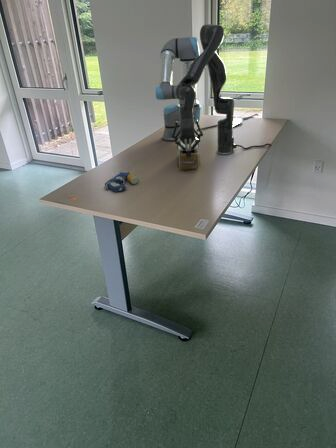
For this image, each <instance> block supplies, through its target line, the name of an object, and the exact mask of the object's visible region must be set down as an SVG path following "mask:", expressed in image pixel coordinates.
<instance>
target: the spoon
mask: <svg viewBox="0 0 336 448" xmlns="http://www.w3.org/2000/svg"><path fill="white" fill-rule="evenodd" d="M242 119H243V118H240V117H233V128H234V127H236V126H238V125H240V124H241V123H242V122H243V120H242Z"/></svg>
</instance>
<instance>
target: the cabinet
mask: <svg viewBox="0 0 336 448" xmlns="http://www.w3.org/2000/svg"><path fill="white" fill-rule="evenodd" d="M178 140H179V139H178ZM194 143H195V140H194V142H193V143H192V144H191V147H192V146H193V144H194ZM181 144H182V145H183V146H184V147H185V144H183V143H182V141H181ZM187 146H188V150H189V144H188V145H187ZM192 150H196V153H198V167H199V165H200V160H199V159H200V157H199V155H200V154H199V148H198V144H197V146H196V147H195V148H194V149H192ZM181 151H182V149H181V148H180V146H179V145H178V149H177V153H178V155H179V154H181ZM178 167H179V168H180V157H179V156H178Z"/></svg>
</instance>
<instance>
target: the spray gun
mask: <svg viewBox="0 0 336 448" xmlns="http://www.w3.org/2000/svg"><path fill="white" fill-rule="evenodd" d="M126 181H128V182H129V183H131V184H132V185H136V184H138V182H139V179H138V177H137V176H136V175H134V174H133V173H130V171H129V170H126V171H119V172H118V173H116V174H115V175H114V176H113V177H111V178H109V180H108V181H106V182H105V183H104V185H103V188H104V189H106V190H111V191H113V192H114V193H116V192H122V191H124V190H125V189H126V187H127V184H126Z"/></svg>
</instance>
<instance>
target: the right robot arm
mask: <svg viewBox="0 0 336 448" xmlns="http://www.w3.org/2000/svg"><path fill="white" fill-rule="evenodd" d="M224 37H225V28H224V27H223V26H222V25H220V24H211V23H210V24H209V23H206V24H202V26H201V28H200V29H199V40H200V44H201V47H202V52H201V53H199V54H200V55H199V56H198V57H197V58H196V59H195V60H194V61H193V62H192V64H191V65H190V67H189V69H188V72H187V74H186V76H185V77H184V78H183V77H182V79H181V80H180V82H178V84H177V85H178V86H177V87H176V90H175V95H176V97H177V98H178V99H177V100H179V99H180V100H185V103H184V105H181V106H180V108H179V112H180V134H181V136H180V139H179V140H177V144H178V145H179V146H180V148H181V149H182V150H185V151H186V156H187V157H190V156H191V150H192V149H194V148H195V147H196V146H197V144H198V143H200V142H199V139H197V136H196V133H195V132H194V128H195V123H194V118H193V106H194V101H195V89H194V88H193V87H192V85H195V84H196V85H197V84H198V83H199V81H200V79H201V78H202V75H203V74H204V71H205V69H206V67H207V70H208V77H209V81H210V85H211V90H212V97H213V106H214V111H215V113H216V114H218V115H225V117H224V118H221V119H219V120H217V125H218V126H217V148H216V149H217V152H216V153H217V154H219V155H221V156H222V155H223V156H227V155H230V154H232V153H234V149H237V147H240V148H242V149H243V150H249V149H251V148H262V147H266V146H269V147H272V143H265V144H262V145H261V144H260V145H251V146H247V147H244V146H243V145H240V144H236V143H235V138H234V137H233V135H234V134H233V133H234V131H233V129H234V127H233V118H234V115H235V114H234V113H235V100H234V99H233V98H231V97H222V90H223V88H224V86H225V84H226V81H227V78H228V76H227V75H228V74H227V70H226V65H225V63H224V61H223V60H222V58H221V57H220V56H219V55H218V53H217V51H218V50H219V48H220V46H221V45H222V43H223V41H224ZM194 140H195V143H194V144H193V146H192V147H191V144H192V143H193V142H194ZM181 141H182V143H183V144H185V147H184V146H183V145H182V144H181ZM177 144H176V145H177ZM188 144H189V150H188V146H187V145H188ZM188 152H189V154H188Z"/></svg>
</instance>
